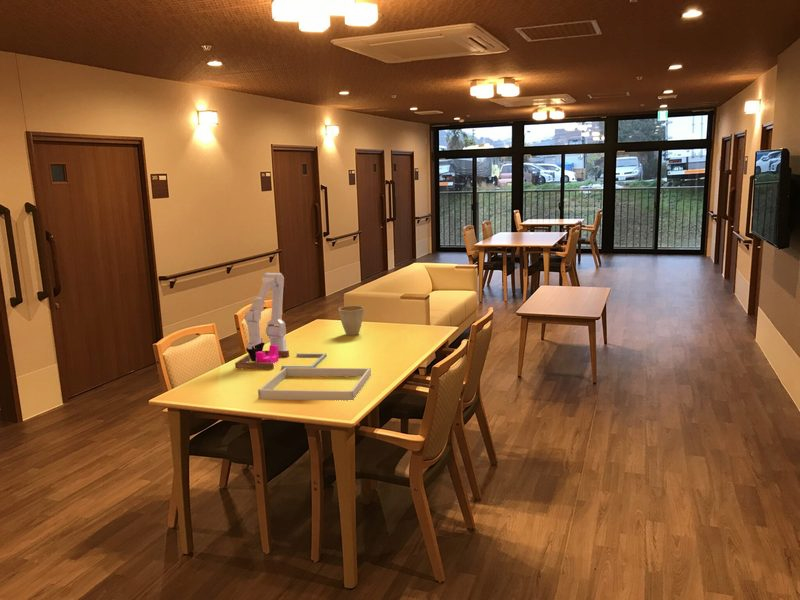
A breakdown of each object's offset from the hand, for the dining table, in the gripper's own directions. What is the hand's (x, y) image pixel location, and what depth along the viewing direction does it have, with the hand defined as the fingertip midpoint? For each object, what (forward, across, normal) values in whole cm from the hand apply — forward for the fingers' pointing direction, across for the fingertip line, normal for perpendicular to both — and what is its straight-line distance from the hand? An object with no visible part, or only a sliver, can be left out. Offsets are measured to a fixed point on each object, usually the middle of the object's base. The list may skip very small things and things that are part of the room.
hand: (256, 358), depth 332 cm
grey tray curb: (+2, +38, +45) cm, 59 cm away
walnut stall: (+2, 0, +3) cm, 4 cm away
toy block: (+2, 0, +7) cm, 8 cm away
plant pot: (+2, -59, +36) cm, 69 cm away
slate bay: (+2, 0, +26) cm, 26 cm away
